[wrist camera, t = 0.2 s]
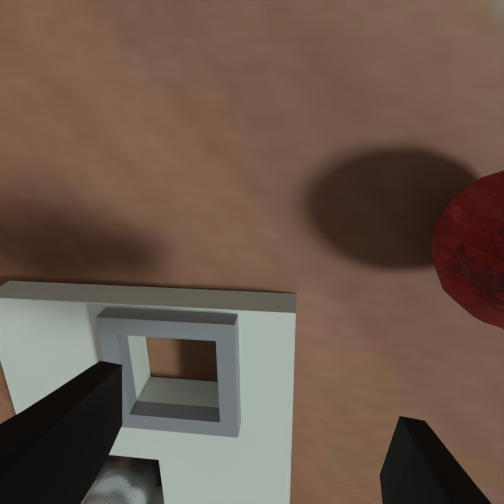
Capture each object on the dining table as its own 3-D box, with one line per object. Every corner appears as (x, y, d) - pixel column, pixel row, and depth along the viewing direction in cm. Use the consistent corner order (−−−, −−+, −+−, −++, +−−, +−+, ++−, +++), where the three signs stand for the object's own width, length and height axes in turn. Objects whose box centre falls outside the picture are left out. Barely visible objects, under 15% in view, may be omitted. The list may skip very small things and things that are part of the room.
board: (288, 532, 26) (286, 584, 23) (67, 505, 28) (41, 550, 25) (296, 293, 19) (295, 324, 17) (9, 280, 21) (-35, 306, 19)
